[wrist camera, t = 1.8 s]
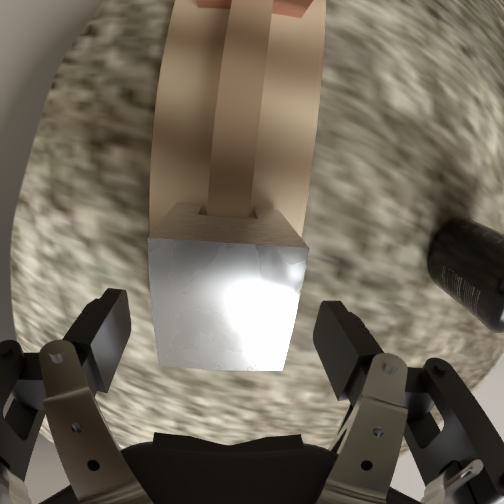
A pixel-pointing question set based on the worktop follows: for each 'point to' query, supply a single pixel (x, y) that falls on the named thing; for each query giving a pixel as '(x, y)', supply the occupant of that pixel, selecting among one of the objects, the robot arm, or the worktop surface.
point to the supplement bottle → (471, 269)
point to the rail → (200, 106)
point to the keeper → (224, 288)
